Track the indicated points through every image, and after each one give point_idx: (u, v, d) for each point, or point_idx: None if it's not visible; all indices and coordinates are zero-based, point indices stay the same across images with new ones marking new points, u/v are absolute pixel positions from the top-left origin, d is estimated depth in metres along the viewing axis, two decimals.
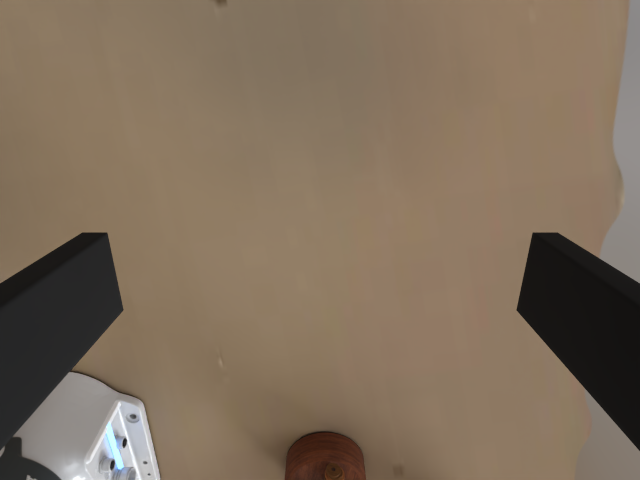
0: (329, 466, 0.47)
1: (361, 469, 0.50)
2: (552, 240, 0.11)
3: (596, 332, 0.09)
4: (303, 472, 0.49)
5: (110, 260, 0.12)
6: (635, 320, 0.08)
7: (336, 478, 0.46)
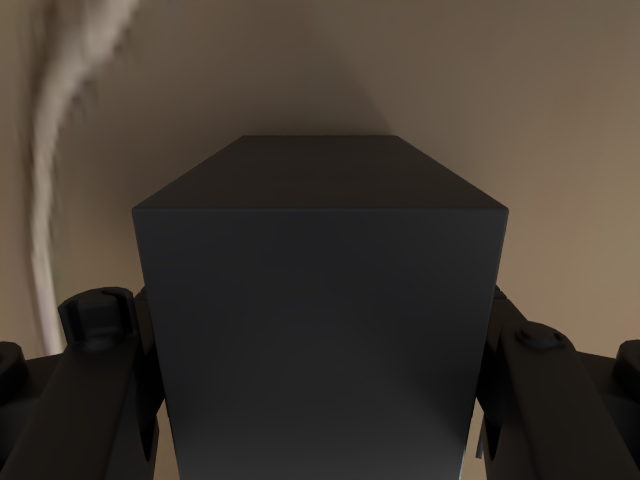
0: None
1: None
2: None
3: None
4: None
5: None
6: None
7: None
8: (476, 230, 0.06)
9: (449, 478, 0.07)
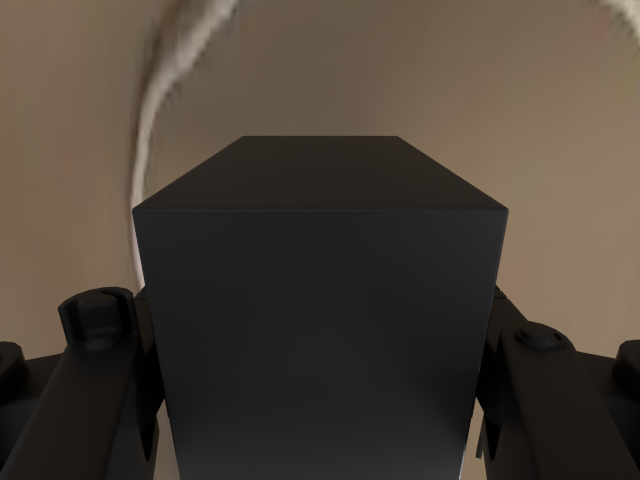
0: None
1: None
2: None
3: None
4: None
5: None
6: None
7: None
8: (476, 230, 0.06)
9: (449, 478, 0.07)
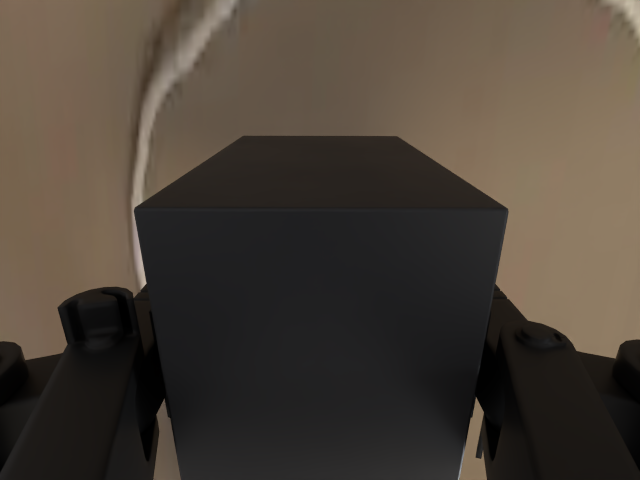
0: None
1: None
2: None
3: None
4: None
5: None
6: None
7: None
8: (476, 230, 0.06)
9: (448, 477, 0.07)
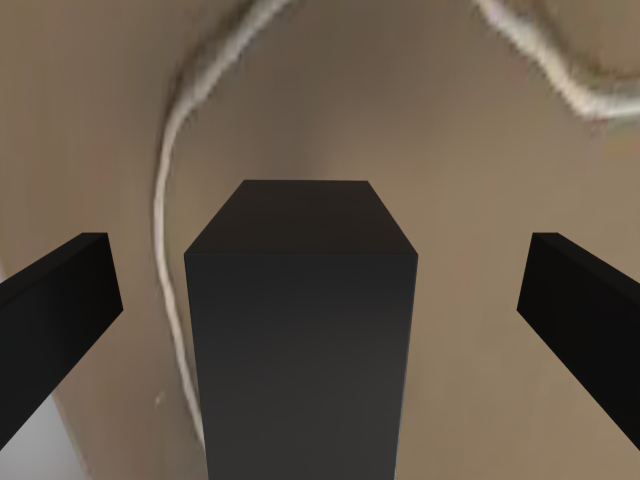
0: None
1: None
2: (552, 240, 0.11)
3: (596, 332, 0.09)
4: None
5: (110, 260, 0.12)
6: (635, 320, 0.08)
7: None
8: (398, 267, 0.09)
9: (391, 434, 0.11)
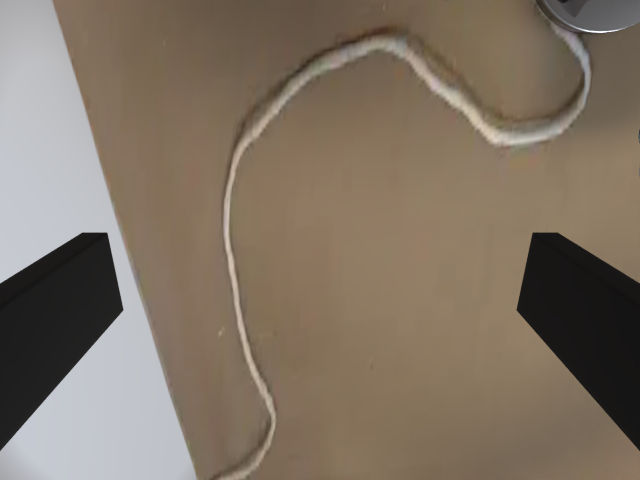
0: None
1: None
2: (552, 240, 0.11)
3: (596, 332, 0.09)
4: None
5: (110, 260, 0.12)
6: (635, 320, 0.08)
7: None
8: None
9: None
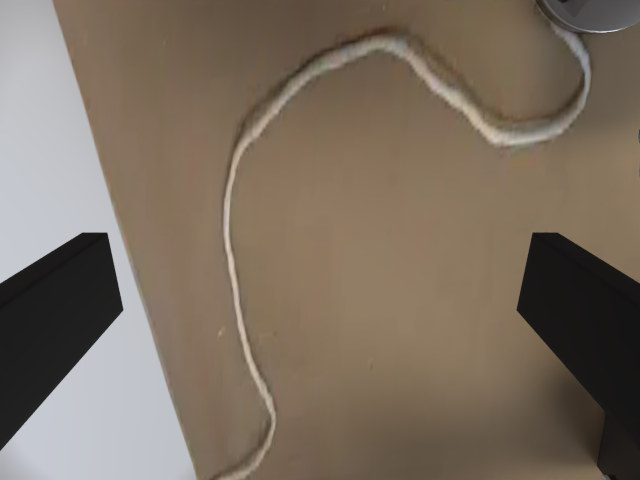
0: None
1: None
2: (552, 240, 0.11)
3: (596, 332, 0.09)
4: None
5: (110, 260, 0.12)
6: (635, 320, 0.08)
7: None
8: None
9: None
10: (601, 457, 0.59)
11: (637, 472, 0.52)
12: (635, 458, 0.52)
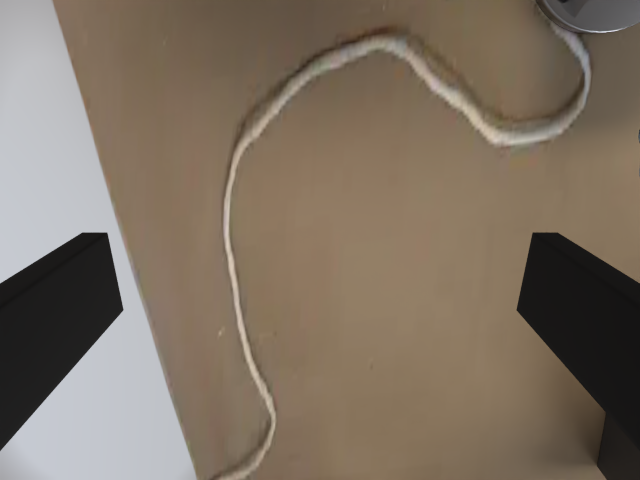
0: None
1: None
2: (552, 240, 0.11)
3: (596, 332, 0.09)
4: None
5: (110, 260, 0.12)
6: (635, 320, 0.08)
7: None
8: None
9: None
10: (601, 457, 0.59)
11: (637, 472, 0.52)
12: (635, 458, 0.52)
